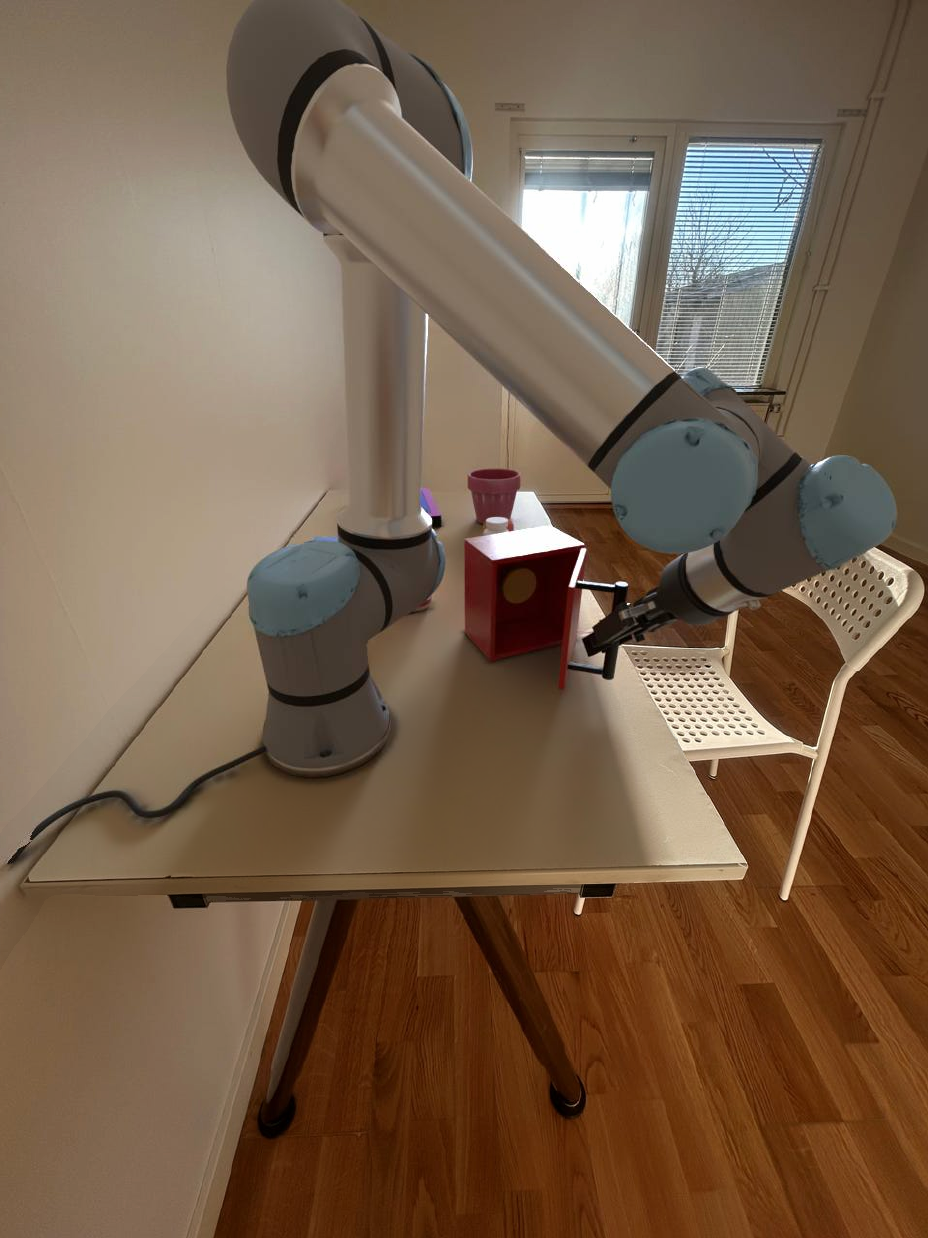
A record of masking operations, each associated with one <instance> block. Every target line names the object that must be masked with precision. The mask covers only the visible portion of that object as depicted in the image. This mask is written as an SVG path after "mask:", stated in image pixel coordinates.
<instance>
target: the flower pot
mask: <svg viewBox="0 0 928 1238" xmlns="http://www.w3.org/2000/svg"><path fill="white" fill-rule="evenodd" d="M521 475H522V474H521V472H519V471H517V470H516V469H511V468H510V469H509V468H499V467H497V468H496V467H495V468H493V467H492V468H480V469H476V470H471V471H470V472H468V473H467V489H468V490H469V491H470V493H471V499H472V504H473V508H474V513H475V518H476V521H477V522H478V523H480V524H482V525H483V524H484V522H485V521H486V519H488V518H491V517H498V512H499V517H506V518H508V519H510V520H511V517H512V514H513V509H514V505H515V502H516V496H517V492H518V491H519V490H520V489H521V486H522V485H521V483H522V482H521V481H522V480H521V479H522V477H521Z"/></svg>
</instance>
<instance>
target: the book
mask: <svg viewBox="0 0 928 1238" xmlns="http://www.w3.org/2000/svg"><path fill="white" fill-rule="evenodd" d="M421 507H423V508H426V509H427V510H428V515H429V516H430V517H431V519H432V528H440V527H442V514H441V512H440V510H439V508H438V505H437V504H436V502H435V500H434V498H433V495H432V493H431V490H430V489H429V487H421Z"/></svg>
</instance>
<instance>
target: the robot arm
mask: <svg viewBox="0 0 928 1238" xmlns="http://www.w3.org/2000/svg"><path fill="white" fill-rule="evenodd" d="M225 68H226V70H225V71H226V72H225V73H226V94H227V99H228V100H227V101H228V105H229V111H230V116H231V119H232V122H233V124H234V128H235V130H236V133H237V136H238V138H239V141H240V142H241V145H242V146H243V149H244V151H245V152H246V155H247V157H248V159H249V160H250V161H251V163H252V164H253V166H254V167H255V169H256V170H257V172H258V173H259V174H260V176H261V177H262V178H263V179H264V181H266V183H267V184H268V185H269V186H270V187H271V188H272V189H273V190H274V191H275V192H276V193H277V194H278V195H279V197H281V198H282V199H283V200H284V201H285V202H286V203H287V204H288V205H289V206H290V207H291V208H292V209H293V210H295V212H297V214H299V215H300V216H301V217H302V218H303V219H304V220H305V221H306V222H307V223H308V224H309V225H310V226H311V227H313V228H314V229H315V230H317V231H318V232H320V233H322V234H323V243H324V244H325V245H326V246H327V247H328V249H329V250H330V251H331V253H332V254H333V255H334V256H335V257H336V259H337V261H338V262H339V265H340V273H341V274H340V275H341V301H342V303H341V304H342V305H341V307H342V331H343V332H342V333H343V335H342V336H343V359H344V360H343V361H344V390H345V391H344V392H345V393H344V394H345V418H346V420H345V421H346V446H347V449H346V450H347V475H348V476H347V478H348V504H347V505H346V507H344V509H342V510H341V511H340V512H339V514H338V515H337V517H336V524H337V537H338V542H335V541H329V540H316V541H312V540H308V541H307V540H306V541H303V543H301V544H296V543H293V544H290V545H286V546H284V547H282V548H279V549H277V550H275V551H273V552H271V553H269V554H267V555H266V556H264V557H263V558H262V559H260V561H258V562H257V563H256V564H255V566H254V567H253V568H252V569H251V570H250V572H249V574H248V577H247V581H246V594H247V600H248V617H249V620H250V622H251V625H252V626H253V629H254V634H255V638H256V643H257V647H258V651H259V656H260V660H261V664H262V669H263V673H264V677H265V681H266V686H267V691H268V696H267V703H266V712H265V719H264V723H263V726H262V743H263V745H262V746H261V747H259V748H256V749H254V750H252V751H250V752H247V753H246V754H244V755H241V756H240V757H237V758H235V759H233V760H231V761H229V762H227V763H225V764H223V765H220V766H218V767H216V768H214V769H211V770H209V771H207V772H205V773H204V774H202V775H200V776H199V777H198V778H196V779H194V780H193V781H191V782H190V784H188V785H187V786H186V788H185V789H184V790H183V791H182V792H181V793H180V794H179V796H178V797H176V798H175V800H174V801H173V802H171V803H170V804H169V805H167V806H165V807H163V808H160V809H156V810H146V809H145V808H143V807H142V806H140V804H138V802H137V801H136V800H135V798H133V797H132V796H131V794H128V792H125V791H122V790H117V789H116V790H115V789H113V790H106V791H103V792H99V793H95V794H91V795H89V796H86V797H83V798H80V799H78V800H76V801H74V802H71V803H70V804H67V805H66V806H63V807H62V808H59V810H57V811H55V812H54V813H52V814H51V815H49V816H48V817H46V818H45V819H43V820H42V821H41V822H40V823H39V824H38V825H36V826H35V827H36V828H35V827H34V828H35V829H34V828H33V829H34V831H33V832H32V835H31V836H30V837H31V838H30V840H32V841H31V842H29V843H28V844H27V845H25V846H23V847H21V848H19V849H18V850H17V852H16V853H15V854H14V855H13V856H12V858H11V859H10V860H9V861H8V863H7V865H6V866H8V865H11V864H13V863H15V862H16V861H17V860H18V858H19V857H20V856H21V855H22V853H23V852H24V851H25V849H26V848H27V847H28V846H29V845H30V844H31V843H32V842H33V841H34V839H36V838H37V837H38V835H40V834H41V833H42V832H43V831H44V830H46V828H48V827H49V826H51V825H52V824H54V823H55V822H56V821H58V820H59V819H60V818H62V817H64V816H65V815H68V814H69V813H71V812H72V811H74V810H76V809H79V808H81V807H84V806H86V805H89V804H91V803H95V802H97V801H101V800H104V799H109V798H117V799H118V798H119V799H121V800H123V802H125V804H126V805H127V806H128V808H130V810H131V811H132V812H133V813H134V814H135V815H137V816H139V817H141V818H144V819H156V818H160V817H163V816H164V817H165V816H166V815H168V814H170V813H172V812H173V811H175V810H176V809H178V807H180V806H181V804H182V803H184V801H185V800H186V799H187V798H188V796H189V795H190V794H191V793H192V792H193V791H194V790H195V789H196V788H198V787H199V786H200V785H201V784H203V783H204V782H206V781H208V780H209V779H211V778H213V777H216V776H217V775H219V774H222V773H224V772H226V771H229V770H231V769H233V768H235V767H237V766H239V765H241V764H243V763H245V762H247V761H249V760H252V759H253V758H255V757H257V756H260V755H262V754H264V753H265V754H266V757H267V759H268V760H269V761H270V763H271V764H272V765H273V766H275V767H276V768H277V769H278V770H280V771H282V772H284V773H286V774H289V775H293V776H297V777H304V778H322V777H329V776H330V777H331V776H335V775H339V774H343V773H346V772H349V771H351V770H354V769H356V768H357V767H360V766H362V765H363V764H365V763H367V762H368V761H369V760H371V759H372V758H374V756H375V755H377V754H378V753H379V752H380V751H381V749H383V747H384V746H385V744H386V743H387V741H388V739H389V736H390V732H391V717H390V712H389V709H388V705H387V703H386V700H385V699H384V698H383V696H382V694H381V691H380V690H379V688H378V686H377V684H376V682H375V680H374V678H373V676H372V675H371V671H370V661H369V652H368V643H369V642H370V641H371V640H372V639H374V638H375V637H376V636H377V635H379V634H380V633H382V632H384V631H385V630H386V629H387V628H389V627H391V626H393V624H395V623H396V622H398V621H399V620H401V619H403V618H404V617H405V616H407V615H408V614H409V613H412V612H411V611H412V610H414V609H416V608H418V607H419V606H420V605H422V604H423V603H424V602H426V601H427V599H428V598H429V597H430V596H431V595H432V596H433V594H435V592H436V591H437V590H438V588H439V587H440V585H441V584H442V581H443V579H444V576H445V571H446V555H445V549H444V546H443V544H442V543H443V542H441V541H439V540H438V538H437V537H438V534H437V533H436V531H435V530H434V529H433V527H432V519H431V517H430V516H429V515H428V514H427V513H426V512H425V511H424V510H423V509H422V507H421V488H422V478H423V477H422V476H423V455H424V454H423V452H424V431H425V430H424V429H425V428H424V427H425V402H426V401H425V400H426V380H427V379H426V378H427V377H426V376H427V353H428V352H427V350H428V325H429V318H430V319H431V320H432V321H434V322H435V323H436V325H438V326H439V327H440V328H441V329H442V330H443V331H444V332H445V333H446V334H447V335H449V337H450V338H452V339H453V340H454V342H455V343H457V344H458V345H459V346H460V347H461V348H462V349H463V350H464V351H465V352H466V353H467V354H469V356H470V357H471V358H472V359H474V360H475V362H476V363H478V364H479V365H480V367H482V368H483V369H484V370H485V371H486V372H487V373H488V374H489V375H491V376H492V378H494V380H496V381H497V382H498V383H499V384H500V385H501V386H502V387H503V388H504V389H505V390H506V391H507V392H508V393H509V394H510V395H511V396H513V398H515V399H516V400H517V402H519V403H520V404H521V405H522V406H523V407H524V408H525V409H526V410H527V411H528V412H529V413H530V414H531V415H532V416H534V417H535V418H536V419H537V420H538V421H539V422H540V423H541V424H542V425H543V426H544V427H545V428H546V429H547V430H548V431H549V432H550V433H552V434H553V435H554V436H555V437H556V439H558V440H559V441H560V443H562V444H563V445H564V446H565V447H566V448H568V449H569V450H570V451H571V453H573V454H574V455H575V457H577V458H578V459H579V460H580V461H581V462H582V463H583V464H584V465H585V466H586V467H588V469H589V470H590V471H592V472H593V473H594V474H595V476H597V478H599V479H600V481H601V482H602V483H604V484H605V486H607V487H608V488H609V489H610V501H611V505H612V511H613V513H614V515H615V518H616V520H617V523H618V524H619V526H620V528H621V529H622V530H623V532H624V533H625V535H627V536H628V537H629V538H630V539H631V540H632V541H634V542H635V543H637V544H638V545H639V546H642V547H643V548H645V549H648V550H650V551H652V552H653V551H654V552H656V553H657V552H658V553H660V554H661V553H662V554H668V555H678V557H676V558H675V559H673V560H672V561H670V562H669V563H668V564H667V565H666V566H665V567H663V569H662V571H661V574H660V577H659V583H658V586H656V587H654V588H652V589H650V590H648V591H647V593H646V595H644V596H642V597H640V598H639V599H637V600H636V601H634V602H633V603H632V604H631V603H628V602H626V603H620V604H619V605H617V606H616V608H615V610H614V611H613V612H611V611H610V613H609V614H607V615H606V616H604V617H603V618H602V619H599V620H598V622H597V623H596V624H593V626H592V627H591V629H592V631H593V632H591V633H589V634H587V635H585V636H584V637H582V638H581V641H582V644H583V647H584V649H585V652H586V655H587V657H588V658H590V657H594V656H595V655H598V654H599V653H601V654H605V651H606V649H607V648H609V647H611V646H613V645H615V644H617V643H618V640H620V642H619V647H620V646H622V645H624V644H626V643H628V642H630V641H632V640H633V639H635V642H636V643H640V642H642V641H643V642H644V641H645V640H646V639H645V636H644V635H645V634H646V633H648V634H649V633H651V634H653V633H655V632H657V630H660V629H662V628H664V627H666V626H669V625H671V624H673V623H676V622H677V621H681V622H683V623H686V624H687V625H691V626H698V627H699V626H700V627H703V626H707V625H709V624H710V625H711V623H714V622H716V621H719V620H721V619H723V618H725V617H727V616H729V615H731V614H733V613H734V612H737V611H739V610H741V609H743V608H746V607H748V608H749V610H751V611H756V610H759V609H760V607H762V605H761V603H760V601H759V600H764V599H766V598H767V597H770V596H773V595H775V594H777V593H779V592H781V591H783V590H786V589H788V588H791V587H792V586H795V585H797V584H800V583H802V582H804V581H807V580H809V579H812V578H813V577H817V576H819V575H821V574H823V573H826V572H828V571H834V570H836V569H839V568H841V567H842V566H843V565H845V564H846V563H848V562H850V561H852V560H854V559H857V558H858V557H860V556H862V555H864V554H866V553H867V552H869V551H870V550H872V549H874V548H876V547H877V546H879V545H881V544H883V543H884V542H885V541H886V540H887V539H889V537H890V536H892V534H893V530H894V529H895V526H896V524H897V521H898V520H897V519H898V509H897V503H896V499H895V496H894V494H893V492H892V490H891V488H890V486H889V485H888V483H887V482H886V480H885V479H884V478H883V476H882V475H881V474H880V473H879V472H878V471H877V470H876V469H874V468H873V466H871V465H870V464H868V463H861V461H859V460H858V458H856V457H854V456H851V455H846V454H845V455H844V454H839V455H833V456H830V457H827V458H825V459H823V460H821V461H818V462H814V463H813V464H811V463H810V462H809V461H807V459H805V458H804V456H801V455H800V454H799V453H797V451H795V450H793V449H792V448H791V447H790V446H789V445H788V444H787V443H786V442H785V441H784V440H783V439H782V438H781V436H779V435H778V434H777V433H776V432H775V431H774V430H773V428H771V427H770V426H769V424H767V423H766V422H765V420H763V418H762V417H760V416H759V414H757V413H756V411H755V410H753V409H752V408H751V407H750V406H749V405H748V404H747V403H746V402H745V400H744V399H742V397H740V396H739V395H738V393H737V390H736V389H735V388H734V387H733V386H731V385H730V384H729V385H728V384H727V383H726V382H724V381H723V380H722V379H720V377H718V376H717V375H716V374H715V373H714V372H713V371H712V370H710V369H709V368H707V367H704V366H698V367H694V368H692V369H690V370H689V371H688V372H686V373H685V375H683V376H681V375H680V374H679V373H678V372H676V370H675V369H674V368H673V367H672V366H671V365H670V364H669V363H668V362H667V361H666V360H665V359H664V358H662V357H661V356H660V355H659V354H658V353H657V352H656V351H655V350H654V349H653V348H652V347H651V346H649V345H648V344H647V343H646V342H645V341H644V340H643V338H641V337H640V336H639V335H637V334H636V332H634V331H633V330H632V329H631V328H630V327H629V326H628V325H627V324H626V323H624V321H622V320H621V319H620V318H619V317H618V316H617V315H616V314H615V313H614V312H613V311H612V310H610V309H609V307H607V306H606V305H605V304H604V303H603V302H602V301H601V300H600V299H598V298H597V296H596V295H594V293H592V292H591V291H590V290H589V289H588V288H587V287H586V286H585V285H583V284H582V283H581V282H580V281H579V280H578V279H577V278H576V277H575V276H574V275H572V273H571V272H570V271H568V270H567V269H566V268H565V267H564V266H563V265H562V264H561V263H560V262H559V261H558V260H557V259H555V258H554V257H553V256H552V255H551V254H550V253H549V252H548V251H547V250H545V248H544V247H543V246H542V245H540V244H539V242H537V241H536V240H535V239H534V238H533V237H532V236H531V235H529V233H528V232H527V231H525V230H524V229H523V228H522V227H521V226H520V225H519V224H517V223H516V222H515V221H514V220H513V219H512V218H511V216H509V215H508V214H507V213H506V212H505V211H504V210H502V208H500V207H499V206H498V204H496V203H495V202H494V201H493V200H492V199H491V198H489V196H487V195H486V194H485V193H484V192H483V191H482V190H481V189H480V188H479V187H478V186H476V184H475V183H473V182H472V176H473V163H474V160H473V159H474V157H473V156H474V155H473V143H472V138H471V131H470V128H469V124H468V122H467V118H466V115H465V112H464V110H463V108H462V106H461V104H460V103H459V101H458V99H457V97H456V95H455V93H453V91H452V90H451V89H450V87H448V85H446V83H445V82H444V81H443V80H442V79H441V78H440V76H439V75H438V73H437V72H436V71H435V70H434V68H432V66H430V65H429V64H428V63H426V62H425V61H423V60H422V58H420V57H418V56H417V55H415V54H413V53H411V52H408V51H406V50H404V49H403V48H401V47H400V46H399V45H397V44H396V43H395V42H394V41H392V40H391V39H390V38H388V37H387V36H385V35H384V34H383V33H382V32H381V31H379V30H377V29H376V28H375V27H374V26H372V25H371V24H370V23H369V22H367V21H366V20H365V19H364V18H362V17H361V16H359V15H358V14H357V13H356V12H355V11H354V10H353V9H351V8H350V7H349V6H348V5H347V4H345V3H344V2H343V1H341V0H252V1H251V2H250V3H249V5H248V6H247V7H246V8H245V10H244V11H243V13H242V14H241V16H240V18H239V20H238V22H237V23H236V25H235V27H234V30H233V33H232V36H231V39H230V41H229V45H228V50H227V58H226V66H225ZM679 555H680V556H679ZM633 637H634V638H633Z"/></svg>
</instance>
